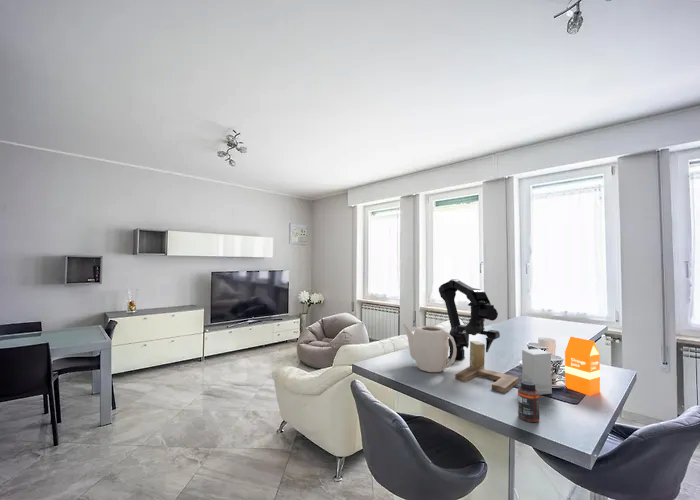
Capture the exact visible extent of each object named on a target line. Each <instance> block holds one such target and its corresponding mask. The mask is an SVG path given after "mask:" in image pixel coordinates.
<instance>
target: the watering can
mask: <svg viewBox="0 0 700 500" xmlns="http://www.w3.org/2000/svg"><path fill="white" fill-rule="evenodd" d="M403 327H404V329H405V330H404V331H405V334H406V336H407V343H408V347H409V348H408V349H409V355H410V357H411V359H413V360H414V361H415V364H416V366H417V368H418V369H419V370H420V371H424V372H427V373H441V372H442V371H444V370H445V369H447V368H449V367H451V365H452V364H454V362H455V358H456V352H457V349H456V344H455V341H454V338H453V337H452V336H451V335H450V334H449V333H450V332H449V333H448V332H446V330H445V329H444V328H442V327H440V326H434V325H421V326H417V327H416V328H415V329H414V331H413V332H412V330H411V329H410V328H409V326H408V324H407V323H405V324H404V323H403ZM449 338H450V339H451V341H452V343H453V355H452V358H450V360H449V362H448V359H449V358H448V357H449V352H450V347H449V342H448V339H449ZM447 362H448V363H447Z"/></svg>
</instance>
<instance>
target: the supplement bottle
mask: <svg viewBox="0 0 700 500" xmlns="http://www.w3.org/2000/svg"><path fill="white" fill-rule="evenodd" d="M520 383H521V384H520V387H518V388H517V409H518V410H517V413H518V417H519V418H520V419H521V420H523V421H525V422H527V423H528V422H529V423H537V422H539V421H540V395H539V392H538V391H537V390H536V389H535V388H536V387H535V383H534V382H531V381H527V380H523V381H522V380H521V381H520Z"/></svg>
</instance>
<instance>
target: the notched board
mask: <svg viewBox="0 0 700 500" xmlns="http://www.w3.org/2000/svg"><path fill="white" fill-rule="evenodd" d="M476 377H481V378H485V379H489V380H492V381H494V382H492V383H491V390H493V391H496V392H499V393H503V394H506V393H507V392H508V391H510V390H511V389H512V388H513V387H515V386H516V385H517V384H518V383H519V381H520V380H519V377H517V376H513V375H509V374H507V373H503V372H502V373H501V372H497V371H494V370H490V369H486V368H484V369H482V368H479V367H475V366H470V365H469V366H468V367H466V368H464V369H462V370H460V371H458V372H456V373H455V377H454V379H455V380H458V381H462V382H465V383H468V382H470V381H471V380H473V379H474V378H476ZM496 380H497V381H496Z"/></svg>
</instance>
